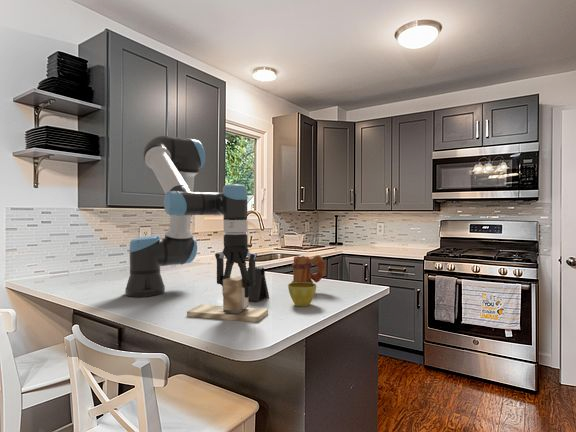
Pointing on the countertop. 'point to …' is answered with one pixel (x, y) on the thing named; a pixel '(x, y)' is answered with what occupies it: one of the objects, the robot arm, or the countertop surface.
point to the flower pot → (302, 292)
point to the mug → (307, 269)
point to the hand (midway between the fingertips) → (236, 306)
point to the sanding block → (233, 294)
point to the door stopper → (258, 286)
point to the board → (218, 313)
